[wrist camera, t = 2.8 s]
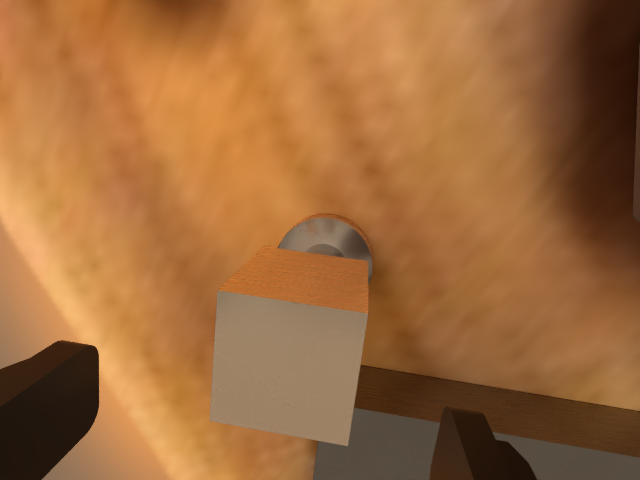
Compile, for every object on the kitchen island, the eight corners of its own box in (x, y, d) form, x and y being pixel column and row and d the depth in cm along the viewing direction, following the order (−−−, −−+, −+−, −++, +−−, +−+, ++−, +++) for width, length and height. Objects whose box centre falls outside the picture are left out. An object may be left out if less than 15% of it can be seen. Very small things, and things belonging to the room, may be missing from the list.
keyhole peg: (378, 220, 21) (390, 298, 10) (364, 308, 23) (363, 464, 11) (285, 207, 22) (200, 269, 11) (277, 294, 23) (192, 432, 12)
